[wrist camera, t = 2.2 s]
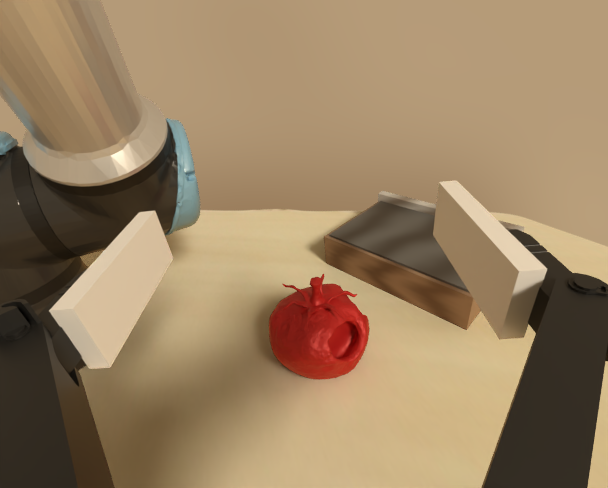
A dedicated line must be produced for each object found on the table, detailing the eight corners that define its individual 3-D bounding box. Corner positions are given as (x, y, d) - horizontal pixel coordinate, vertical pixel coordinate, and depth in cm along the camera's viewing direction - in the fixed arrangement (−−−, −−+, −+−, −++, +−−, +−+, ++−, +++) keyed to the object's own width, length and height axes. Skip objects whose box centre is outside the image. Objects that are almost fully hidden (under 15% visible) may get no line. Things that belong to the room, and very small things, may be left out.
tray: (326, 263, 48) (323, 227, 45) (382, 223, 56) (382, 190, 53) (466, 329, 36) (475, 287, 33) (513, 266, 44) (524, 227, 40)
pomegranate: (260, 384, 33) (240, 315, 28) (291, 312, 41) (280, 249, 36) (362, 404, 30) (360, 332, 25) (374, 322, 38) (374, 255, 33)
